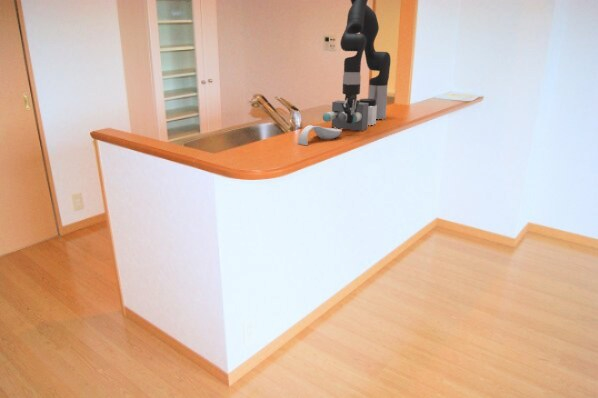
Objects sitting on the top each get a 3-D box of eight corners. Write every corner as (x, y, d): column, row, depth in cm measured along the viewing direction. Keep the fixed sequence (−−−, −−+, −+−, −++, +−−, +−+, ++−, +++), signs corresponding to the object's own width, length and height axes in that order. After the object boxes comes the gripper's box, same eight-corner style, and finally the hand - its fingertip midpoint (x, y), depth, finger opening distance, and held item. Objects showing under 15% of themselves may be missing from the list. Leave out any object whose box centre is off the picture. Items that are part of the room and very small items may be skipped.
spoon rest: (324, 134, 214) (324, 118, 212) (346, 137, 207) (347, 121, 205) (291, 143, 197) (291, 126, 194) (314, 147, 190) (314, 130, 187)
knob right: (358, 118, 224) (359, 110, 222) (366, 119, 222) (366, 110, 221) (348, 122, 215) (348, 113, 214) (356, 123, 213) (357, 114, 212)
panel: (337, 125, 231) (338, 100, 227) (367, 128, 224) (368, 103, 220) (331, 127, 227) (332, 102, 223) (361, 131, 219) (363, 104, 215)
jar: (357, 126, 231) (358, 100, 227) (357, 122, 238) (358, 98, 234) (376, 126, 230) (377, 101, 226) (375, 123, 238) (376, 98, 234)
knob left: (333, 117, 226) (333, 109, 225) (341, 118, 224) (341, 110, 223) (322, 121, 217) (322, 112, 216) (330, 122, 215) (330, 113, 214)
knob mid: (347, 117, 226) (348, 109, 225) (355, 118, 225) (356, 109, 223) (337, 121, 218) (337, 112, 216) (345, 122, 216) (345, 113, 215)
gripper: (350, 81, 213) (348, 120, 219) (336, 83, 203) (335, 124, 208) (365, 82, 210) (363, 121, 215) (352, 84, 199) (351, 126, 205)
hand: (349, 123), depth 212 cm, fingers closed
